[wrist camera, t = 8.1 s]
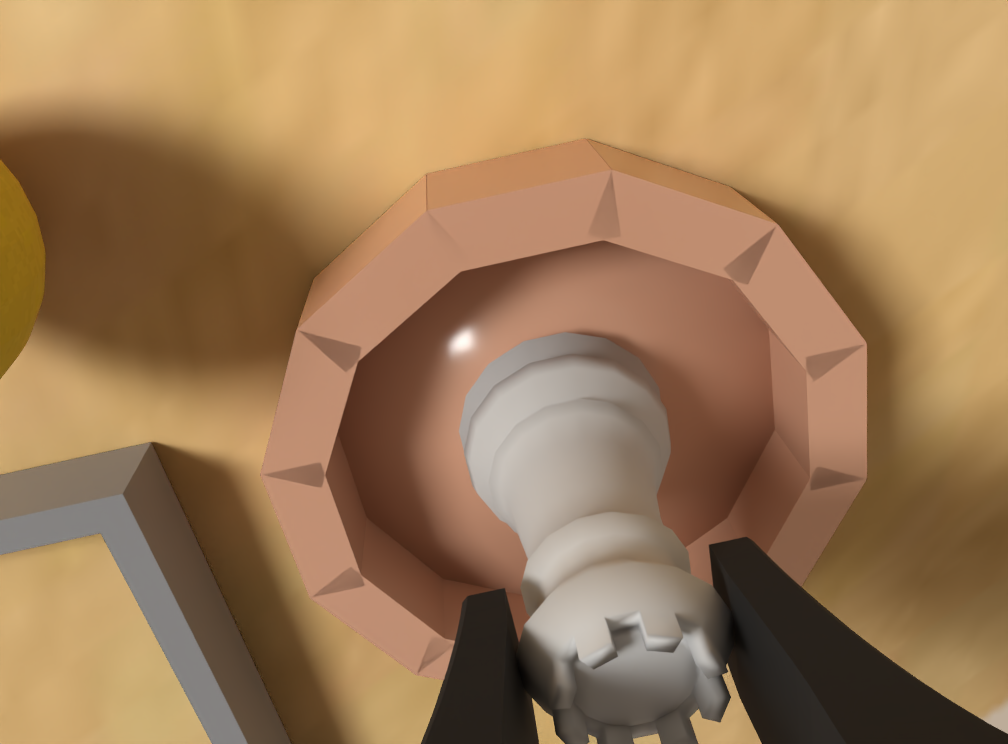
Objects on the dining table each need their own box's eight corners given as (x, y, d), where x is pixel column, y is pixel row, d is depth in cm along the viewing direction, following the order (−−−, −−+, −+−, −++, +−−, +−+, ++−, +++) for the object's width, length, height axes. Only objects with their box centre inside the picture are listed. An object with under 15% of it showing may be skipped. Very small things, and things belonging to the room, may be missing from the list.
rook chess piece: (504, 294, 17) (559, 536, 10) (693, 360, 18) (863, 623, 11) (429, 467, 19) (431, 778, 12) (606, 520, 20) (704, 834, 13)
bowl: (820, 559, 22) (866, 631, 20) (372, 655, 22) (366, 737, 20) (805, 90, 17) (866, 113, 14) (210, 221, 17) (175, 265, 14)
